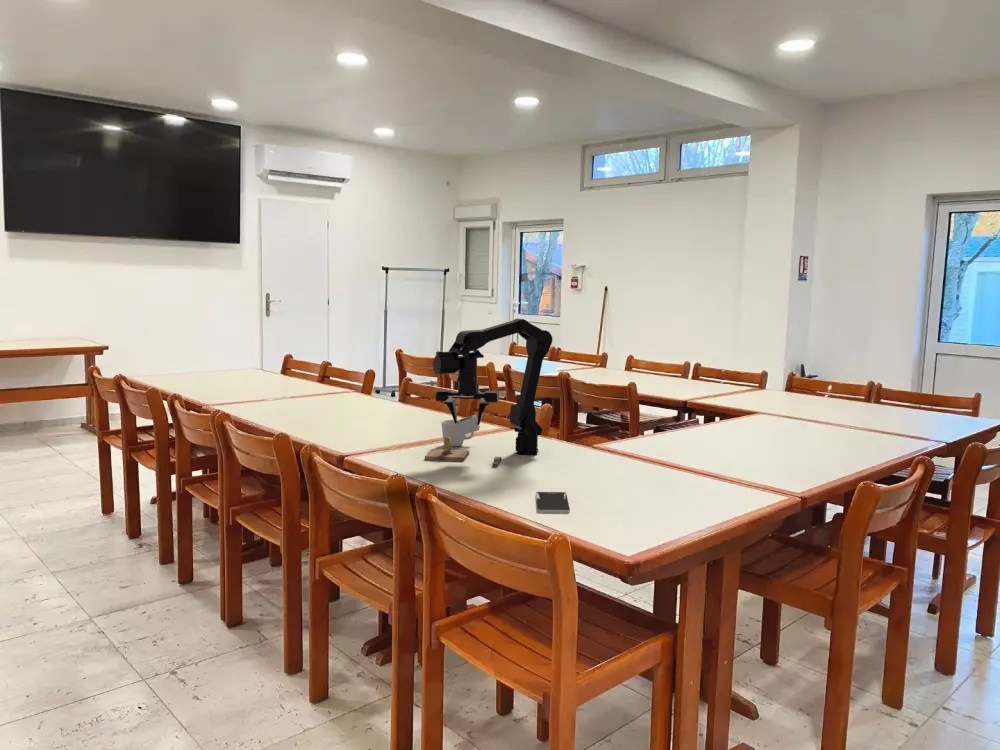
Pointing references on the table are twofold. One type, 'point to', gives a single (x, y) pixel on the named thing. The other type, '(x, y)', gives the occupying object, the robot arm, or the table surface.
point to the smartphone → (552, 502)
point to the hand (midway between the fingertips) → (467, 424)
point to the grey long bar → (496, 461)
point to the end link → (467, 425)
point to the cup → (453, 433)
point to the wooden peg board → (447, 453)
